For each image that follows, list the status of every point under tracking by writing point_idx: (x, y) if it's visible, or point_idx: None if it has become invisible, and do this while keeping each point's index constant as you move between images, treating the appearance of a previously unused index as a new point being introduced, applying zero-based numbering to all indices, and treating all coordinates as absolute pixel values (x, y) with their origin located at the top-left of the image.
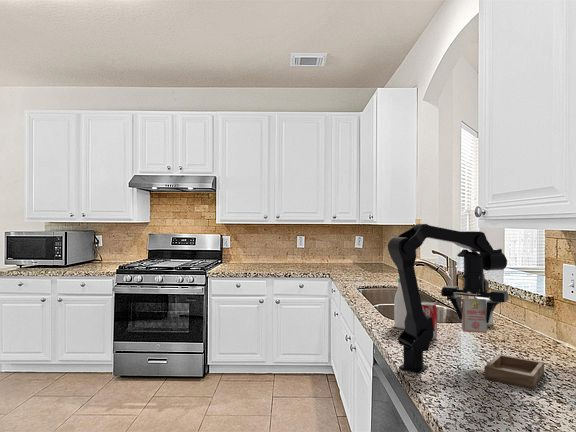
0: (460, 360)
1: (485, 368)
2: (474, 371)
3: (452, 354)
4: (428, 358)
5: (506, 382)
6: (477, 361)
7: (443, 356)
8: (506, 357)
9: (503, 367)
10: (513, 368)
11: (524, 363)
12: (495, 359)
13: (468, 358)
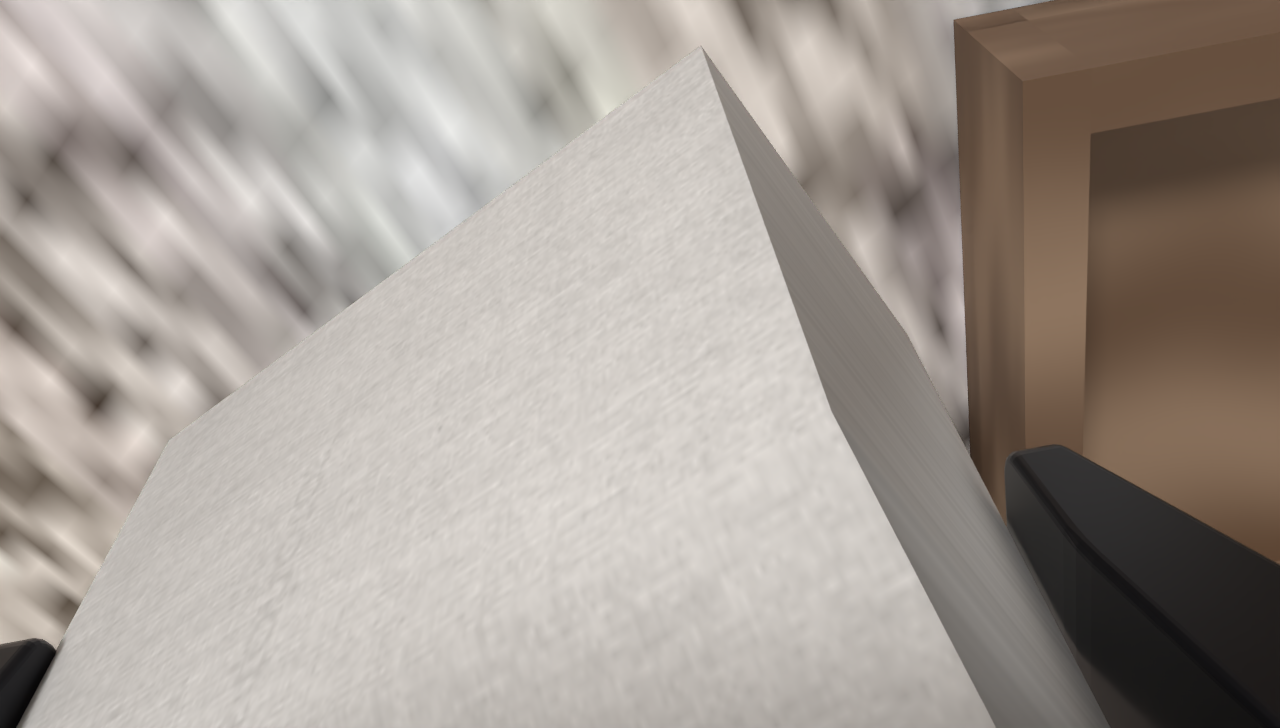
0: (383, 241)
1: None
2: None
3: (68, 50)
4: (44, 504)
5: None
6: (592, 74)
7: (79, 269)
8: (1181, 110)
9: (1094, 188)
10: (1238, 113)
11: None
12: (1063, 399)
13: (397, 40)
